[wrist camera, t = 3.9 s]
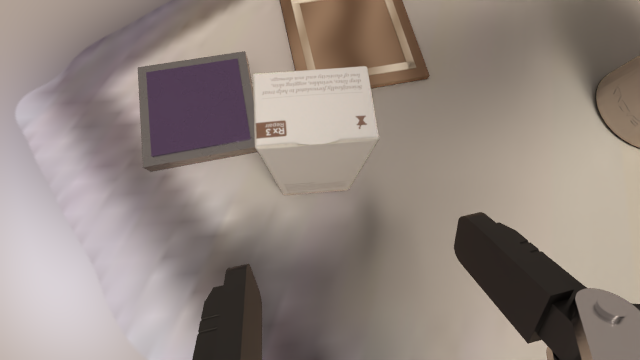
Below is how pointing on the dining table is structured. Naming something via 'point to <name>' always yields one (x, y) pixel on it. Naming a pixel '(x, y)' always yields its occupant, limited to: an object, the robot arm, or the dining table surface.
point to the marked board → (354, 38)
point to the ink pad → (196, 111)
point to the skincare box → (314, 127)
